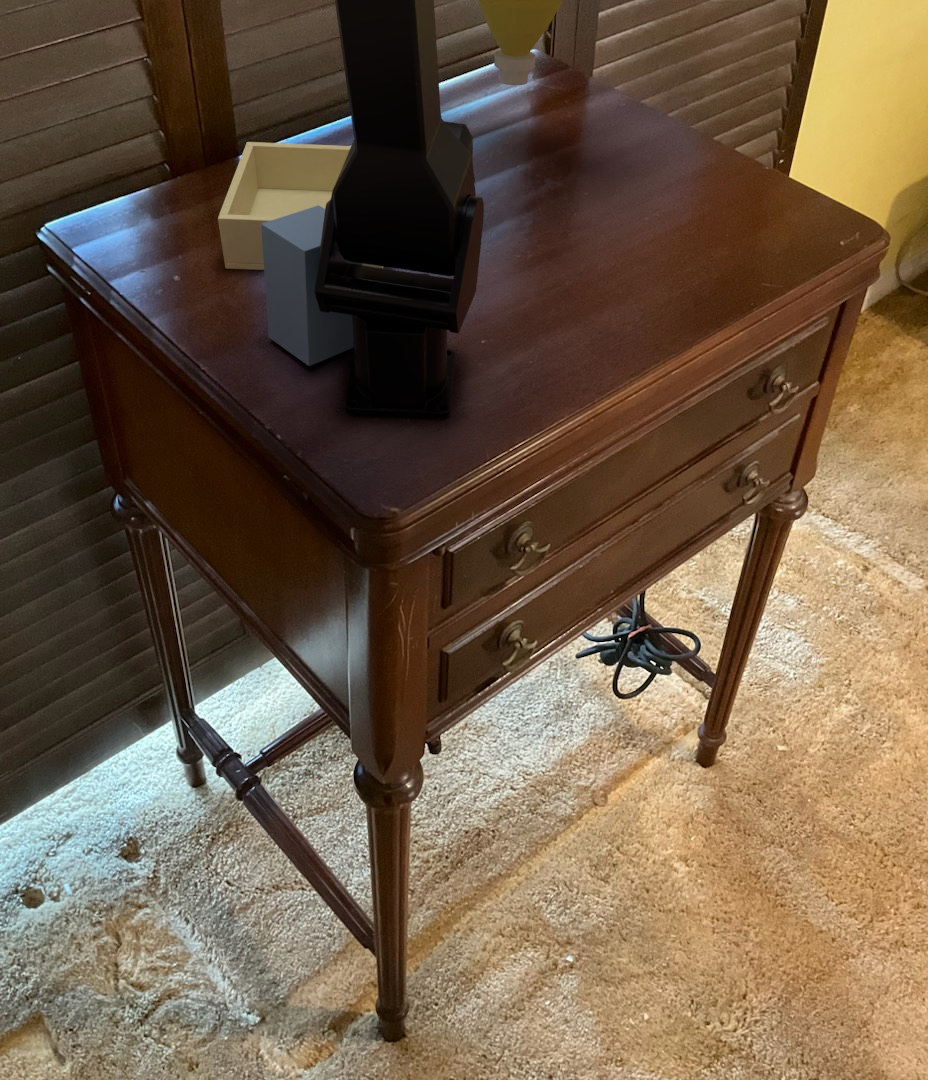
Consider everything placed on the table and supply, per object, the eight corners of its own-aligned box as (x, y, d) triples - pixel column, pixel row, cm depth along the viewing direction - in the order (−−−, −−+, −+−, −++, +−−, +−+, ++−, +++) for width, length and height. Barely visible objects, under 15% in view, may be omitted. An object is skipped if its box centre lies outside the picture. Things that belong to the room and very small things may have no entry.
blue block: (362, 344, 73) (362, 230, 68) (308, 366, 71) (304, 251, 65) (321, 316, 75) (318, 204, 70) (268, 337, 73) (260, 223, 68)
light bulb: (520, 99, 86) (532, -45, 79) (454, 79, 89) (460, -61, 83) (571, 82, 90) (586, -56, 84) (506, 64, 93) (516, -70, 87)
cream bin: (382, 275, 79) (380, 224, 76) (225, 268, 79) (217, 218, 76) (395, 196, 87) (394, 147, 84) (253, 190, 87) (246, 141, 84)
